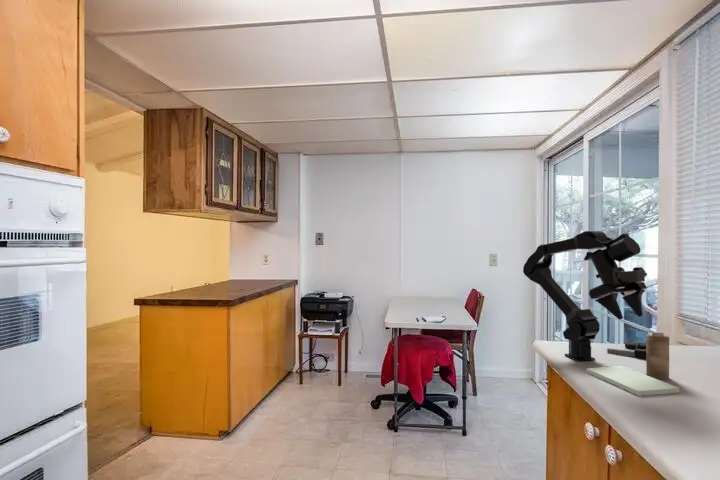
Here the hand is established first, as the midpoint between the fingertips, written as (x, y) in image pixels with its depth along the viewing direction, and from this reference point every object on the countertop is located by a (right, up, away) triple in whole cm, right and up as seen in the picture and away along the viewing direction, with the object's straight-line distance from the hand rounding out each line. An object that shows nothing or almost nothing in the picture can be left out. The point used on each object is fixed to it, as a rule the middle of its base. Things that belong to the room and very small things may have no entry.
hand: (631, 317), depth 119 cm
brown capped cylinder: (+5, -16, -3) cm, 17 cm away
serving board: (-5, -16, -7) cm, 18 cm away
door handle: (+14, -17, +19) cm, 29 cm away
